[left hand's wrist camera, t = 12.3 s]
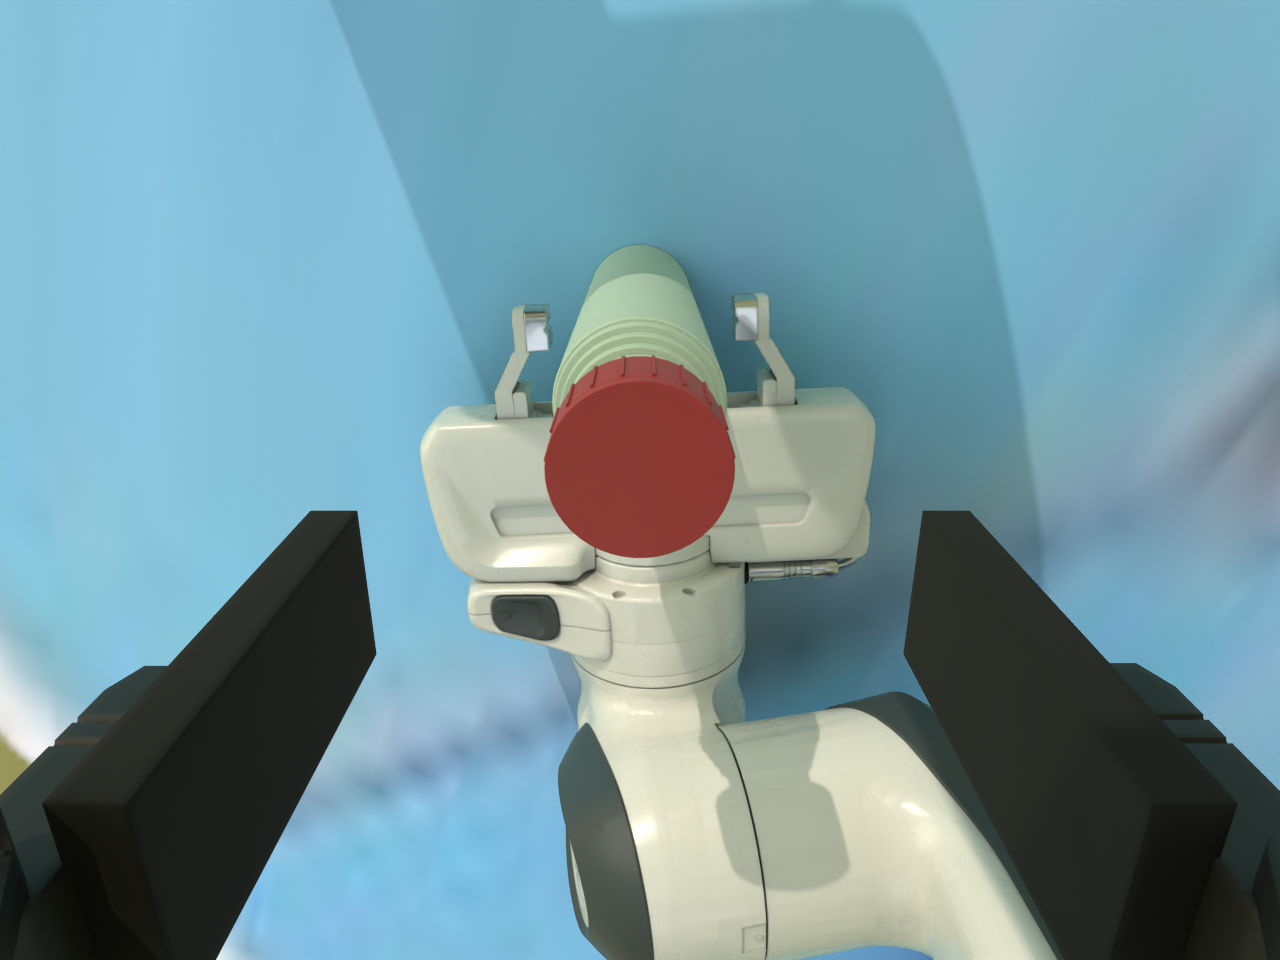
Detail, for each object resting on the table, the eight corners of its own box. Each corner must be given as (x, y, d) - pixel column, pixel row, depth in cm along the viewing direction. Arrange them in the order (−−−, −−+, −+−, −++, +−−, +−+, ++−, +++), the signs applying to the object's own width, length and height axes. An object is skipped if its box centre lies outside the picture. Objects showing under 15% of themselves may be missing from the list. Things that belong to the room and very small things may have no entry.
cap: (692, 539, 22) (698, 582, 20) (531, 491, 22) (519, 530, 19) (752, 385, 21) (766, 413, 18) (580, 329, 20) (572, 352, 18)
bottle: (670, 358, 43) (705, 588, 20) (577, 328, 43) (506, 530, 20) (703, 263, 41) (781, 399, 19) (607, 230, 41) (565, 329, 18)
